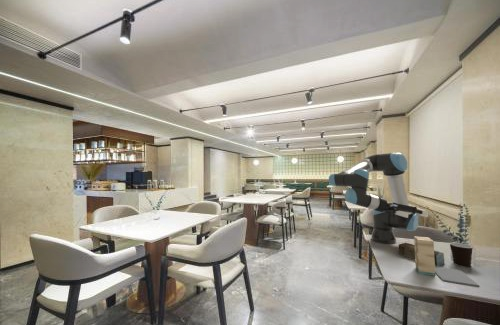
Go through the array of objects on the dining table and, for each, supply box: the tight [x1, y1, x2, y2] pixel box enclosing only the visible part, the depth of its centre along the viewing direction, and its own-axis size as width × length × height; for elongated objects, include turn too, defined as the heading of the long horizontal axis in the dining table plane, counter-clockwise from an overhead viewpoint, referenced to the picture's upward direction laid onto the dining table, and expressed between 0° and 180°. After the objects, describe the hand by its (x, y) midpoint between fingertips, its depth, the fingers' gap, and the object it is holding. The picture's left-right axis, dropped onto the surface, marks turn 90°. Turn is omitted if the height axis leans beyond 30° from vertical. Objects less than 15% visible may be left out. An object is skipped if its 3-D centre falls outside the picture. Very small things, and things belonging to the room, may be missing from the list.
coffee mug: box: [449, 242, 474, 268], centre depth 112 cm, size 12×9×10 cm
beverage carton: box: [398, 242, 445, 267], centre depth 118 cm, size 8×19×7 cm, turn 25°
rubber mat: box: [435, 266, 480, 288], centre depth 98 cm, size 16×12×1 cm
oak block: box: [413, 236, 436, 276], centre depth 103 cm, size 6×6×16 cm
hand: (417, 215), depth 109 cm, fingers open, 13 cm apart
